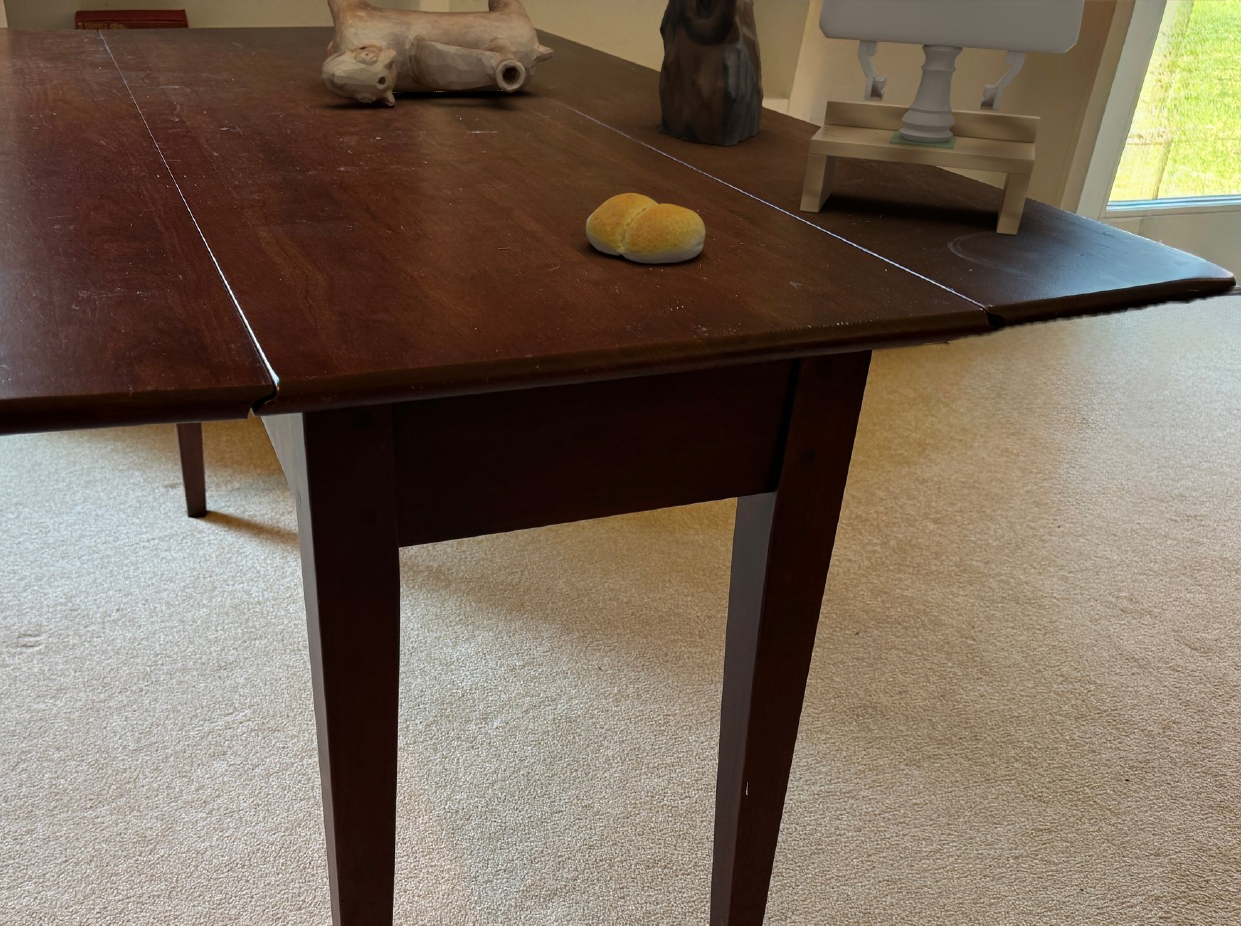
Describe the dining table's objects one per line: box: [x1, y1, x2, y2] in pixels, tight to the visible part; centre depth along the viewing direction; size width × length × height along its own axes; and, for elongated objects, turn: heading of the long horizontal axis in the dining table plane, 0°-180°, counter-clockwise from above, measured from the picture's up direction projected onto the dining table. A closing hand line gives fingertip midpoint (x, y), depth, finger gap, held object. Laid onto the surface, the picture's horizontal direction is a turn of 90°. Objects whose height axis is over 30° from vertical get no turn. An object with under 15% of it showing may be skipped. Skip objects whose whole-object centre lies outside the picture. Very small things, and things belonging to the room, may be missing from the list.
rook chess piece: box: [899, 45, 964, 143], centre depth 95 cm, size 4×4×8 cm
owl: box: [656, 0, 765, 147], centre depth 125 cm, size 13×13×20 cm
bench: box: [799, 98, 1041, 236], centre depth 99 cm, size 18×9×8 cm, turn 69°
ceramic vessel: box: [320, 0, 556, 104], centre depth 146 cm, size 13×31×25 cm
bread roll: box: [585, 192, 707, 264], centre depth 87 cm, size 8×9×4 cm
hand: (930, 105), depth 96 cm, fingers open, 8 cm apart
